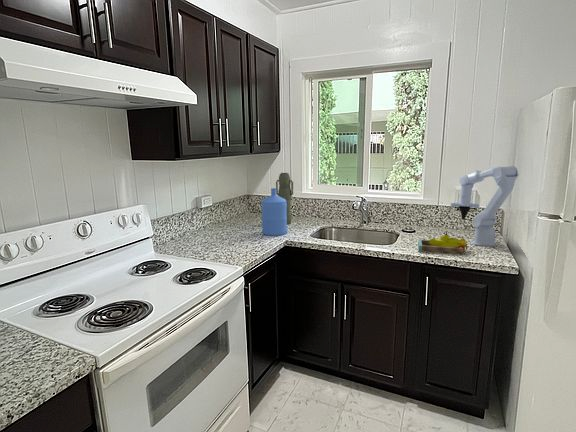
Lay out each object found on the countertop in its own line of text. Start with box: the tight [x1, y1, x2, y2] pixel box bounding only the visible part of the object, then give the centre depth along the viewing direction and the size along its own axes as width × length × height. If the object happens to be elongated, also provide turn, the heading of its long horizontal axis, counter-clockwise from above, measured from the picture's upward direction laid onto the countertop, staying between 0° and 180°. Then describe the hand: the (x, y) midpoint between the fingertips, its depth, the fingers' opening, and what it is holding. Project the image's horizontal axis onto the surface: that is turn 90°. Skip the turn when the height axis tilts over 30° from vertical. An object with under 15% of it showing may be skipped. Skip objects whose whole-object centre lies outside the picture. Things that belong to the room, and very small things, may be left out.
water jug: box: [260, 188, 288, 237], centre depth 218 cm, size 16×16×28 cm
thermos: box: [275, 172, 294, 226], centre depth 242 cm, size 9×12×35 cm
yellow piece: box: [428, 230, 468, 252], centre depth 181 cm, size 6×18×10 cm, turn 69°
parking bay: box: [417, 239, 464, 256], centre depth 182 cm, size 20×12×3 cm, turn 71°
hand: (463, 219), depth 203 cm, fingers closed
